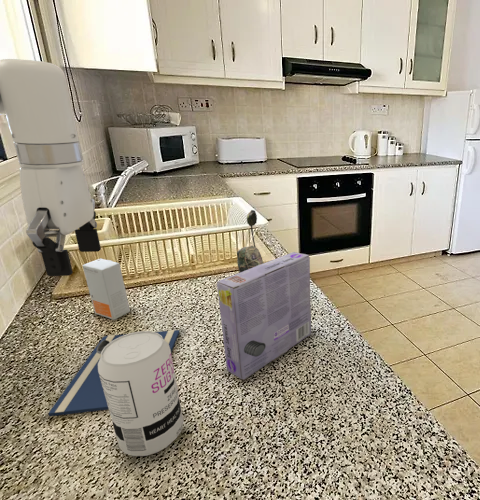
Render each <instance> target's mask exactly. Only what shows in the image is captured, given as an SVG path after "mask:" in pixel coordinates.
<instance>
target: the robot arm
mask: <svg viewBox="0 0 480 500" xmlns="http://www.w3.org/2000/svg"><path fill="white" fill-rule="evenodd" d="M71 99H72V98H71V95H70V90H69V86H68V81H67V77H66V74H65V72H64V70H63V69H62V68H61V67H60V66H58V65H57V64H55V63H53V62H48V61H40V60H31V59H20V58H19V59H17V58H3V59H0V116H3V115H5V116H6V121H7V124H8V128H9V132H10V136H11V139H12V142H13V145H14V150H15V152H16V157H17V160H18V165H19V167H20V168H19V186H20V193H21V199H22V204H23V209H24V214H25V218H26V223H27V228H26V230H25V232H26V235H27V237H28V238H29V239H30V240H31V242H32V245H33V247H34V248H36V249H37V252H38V253H39V254H41V258H42V261H43V264H44V268H45V272H46V275H47V276H48V277H68V276H69V277H70V276H71V275H72V274H73V273H74V271H73V266H72V263H71V260H70V255H69V252H68V249H65V242H66V236H68V235H70V234H72V233H73V232H74V234H75V238H76V242H77V246H78V251H80V253H93V252H94V253H95V252H100V251H101V250H102V248H101V243H100V238H99V233H98V229H97V227H98V223H97V221H96V216H97V212H96V210H95V209H96V207H95V206H96V203H95V202H96V200H95V199H94V198H93V197H92V195H91V191H90V187H89V184H88V180H87V177H86V174H85V171H84V167H83V165H84V164H85V162H84V156H83V152H82V147H81V143H80V139H79V134H78V133H79V132H78V127H77V123H76V119H75V115H74V109H73V106H72V105H73V104H72V100H71ZM54 237H56V238H55V241H54V240H52V239H51V238H54Z"/></svg>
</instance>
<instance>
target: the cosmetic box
mask: <svg viewBox="0 0 480 500" xmlns="http://www.w3.org/2000/svg"><path fill="white" fill-rule="evenodd" d="M82 269H83V273H84V277H85V280H86V284H87V288H88V289H87V290H88V293H89V297H90V300H91V304H92V307H93V311H94V314H95V315H99V316H101V317H105V318H107V319H109V320H112V321H115V320H117V319H119V318H121V317H122V316H125V315H126V314H128V313H130V312H131V308H130V304H129V299H128V295H127V291H126V285H125V281H124V276H123V273H122V267H121V263H120V262H116V261H113V260H110V259H104V258H98V259H95V260H91V261H90V262H87V263H84V264H82Z"/></svg>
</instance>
